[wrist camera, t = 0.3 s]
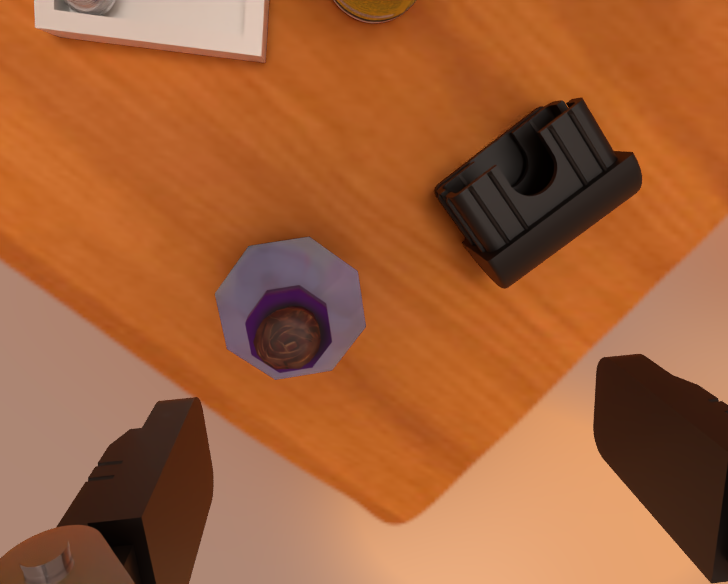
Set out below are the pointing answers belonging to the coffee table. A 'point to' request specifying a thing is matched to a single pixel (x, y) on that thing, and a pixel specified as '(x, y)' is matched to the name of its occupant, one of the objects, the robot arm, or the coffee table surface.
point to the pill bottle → (374, 9)
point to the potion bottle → (290, 308)
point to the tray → (167, 25)
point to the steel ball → (90, 6)
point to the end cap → (537, 189)
